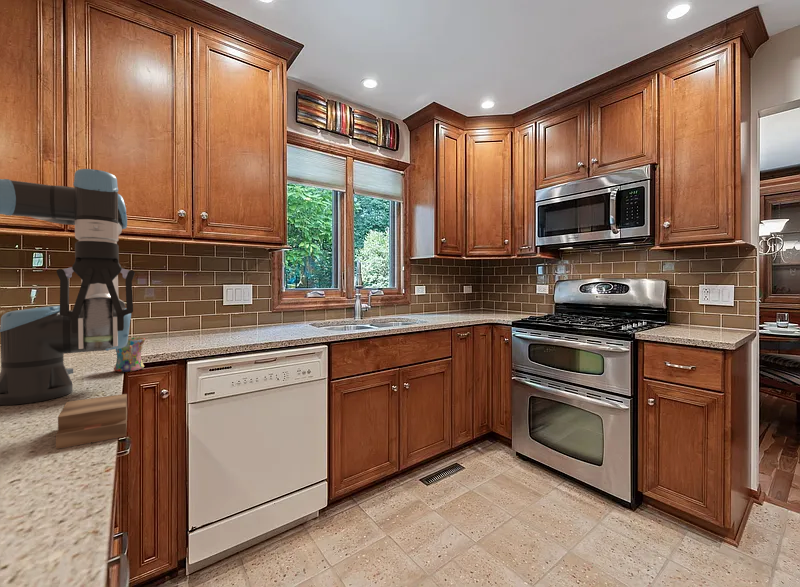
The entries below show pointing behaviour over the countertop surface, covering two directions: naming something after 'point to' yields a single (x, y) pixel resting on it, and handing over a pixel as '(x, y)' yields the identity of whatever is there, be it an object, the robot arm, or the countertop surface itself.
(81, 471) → the countertop surface
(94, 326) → the column
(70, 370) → the bracket
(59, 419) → the step block
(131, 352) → the colorful snack bag
